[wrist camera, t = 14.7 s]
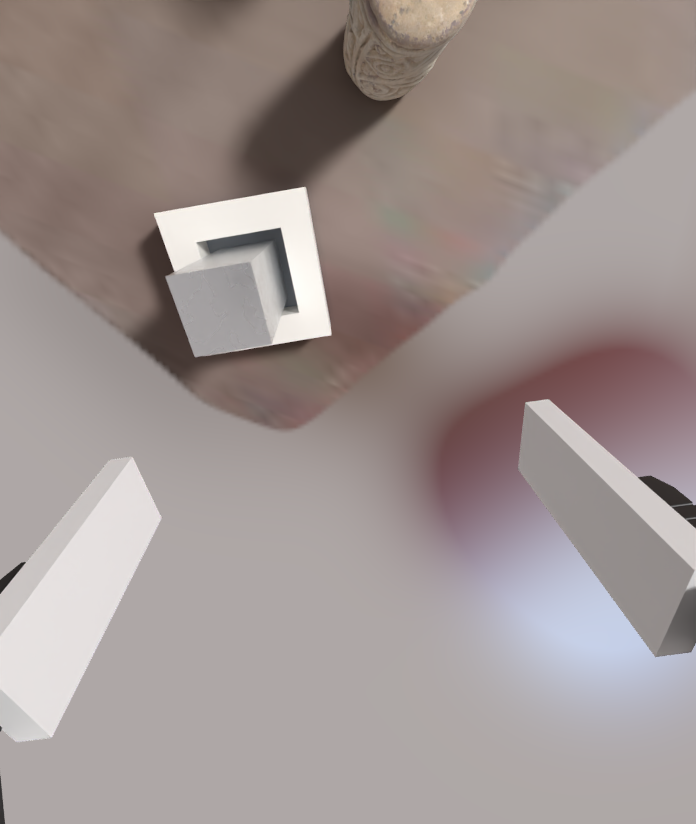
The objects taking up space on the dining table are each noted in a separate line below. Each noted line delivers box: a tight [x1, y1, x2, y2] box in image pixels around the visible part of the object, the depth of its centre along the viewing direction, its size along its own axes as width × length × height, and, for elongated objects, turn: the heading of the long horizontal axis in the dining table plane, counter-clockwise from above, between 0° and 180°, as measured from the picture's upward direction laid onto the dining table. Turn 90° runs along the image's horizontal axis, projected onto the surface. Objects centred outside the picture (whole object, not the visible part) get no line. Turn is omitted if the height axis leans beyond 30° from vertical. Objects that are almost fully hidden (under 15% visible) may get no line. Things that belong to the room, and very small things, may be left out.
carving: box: [343, 0, 477, 101], centre depth 24 cm, size 6×8×12 cm
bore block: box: [154, 187, 331, 356], centre depth 35 cm, size 12×12×4 cm
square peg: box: [165, 240, 288, 357], centre depth 30 cm, size 5×5×14 cm
